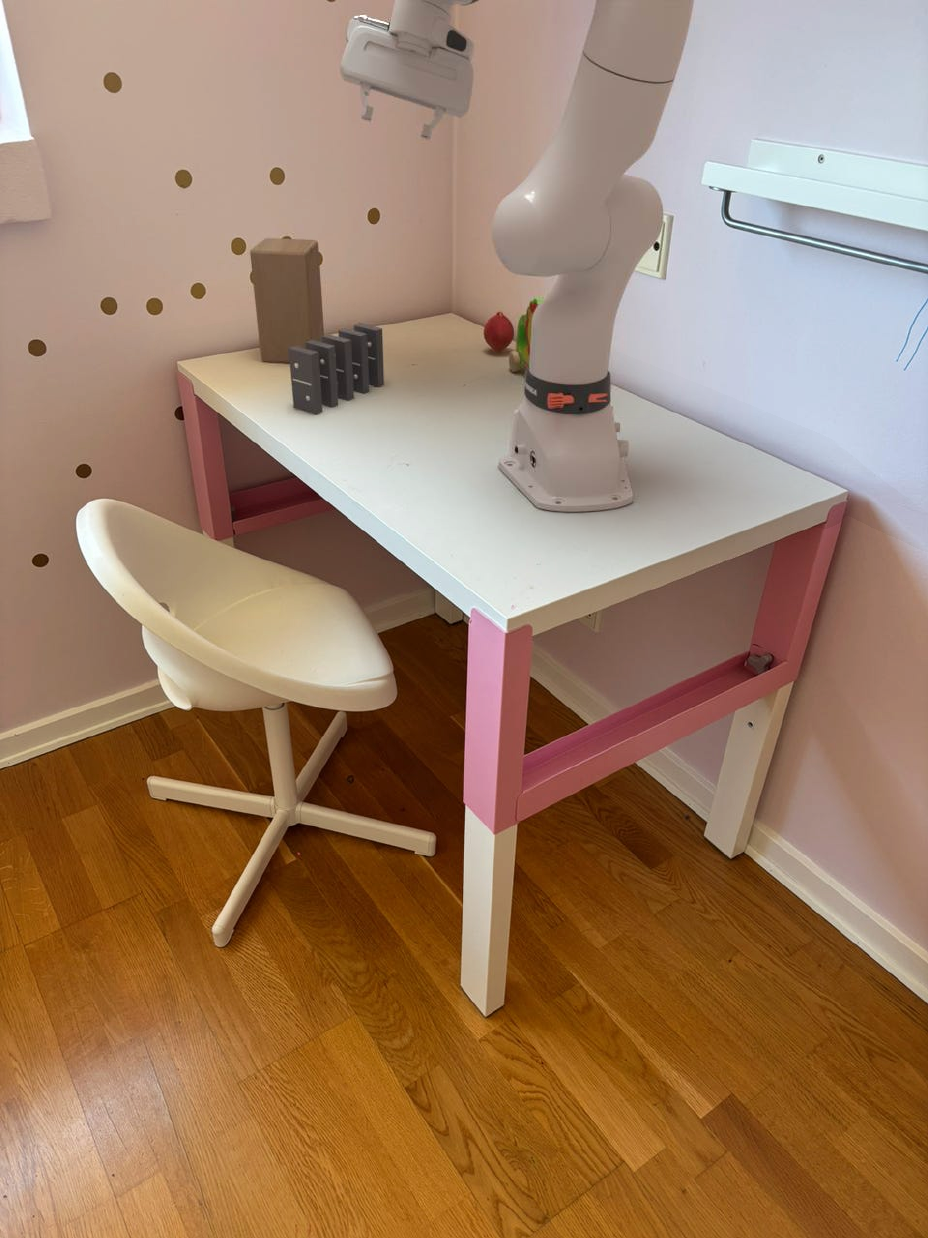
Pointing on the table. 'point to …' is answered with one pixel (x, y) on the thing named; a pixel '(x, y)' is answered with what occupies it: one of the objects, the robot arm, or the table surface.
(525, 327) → the toy lion
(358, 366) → the domino
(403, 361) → the table surface
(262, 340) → the wooden block
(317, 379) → the domino
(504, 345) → the onion
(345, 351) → the domino
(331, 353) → the domino
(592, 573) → the table surface
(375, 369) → the domino
